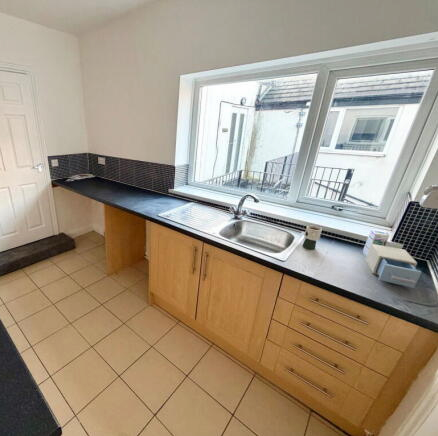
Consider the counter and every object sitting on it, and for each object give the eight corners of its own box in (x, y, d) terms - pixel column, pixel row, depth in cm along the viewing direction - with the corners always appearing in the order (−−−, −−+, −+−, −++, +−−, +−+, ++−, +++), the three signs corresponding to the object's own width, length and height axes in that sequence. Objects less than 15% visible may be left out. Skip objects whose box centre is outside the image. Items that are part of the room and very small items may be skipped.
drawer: (418, 294, 99) (426, 278, 96) (382, 285, 104) (388, 269, 102) (402, 272, 114) (409, 258, 111) (371, 266, 119) (376, 252, 116)
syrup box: (365, 257, 129) (375, 233, 123) (361, 252, 134) (371, 228, 128) (379, 260, 127) (390, 235, 121) (374, 254, 132) (384, 230, 126)
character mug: (301, 242, 144) (306, 222, 139) (315, 246, 141) (321, 225, 136) (300, 250, 136) (306, 229, 130) (315, 254, 132) (322, 233, 127)
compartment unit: (408, 281, 109) (417, 263, 105) (372, 273, 115) (379, 255, 111) (397, 266, 121) (405, 249, 117) (365, 260, 127) (371, 243, 123)
